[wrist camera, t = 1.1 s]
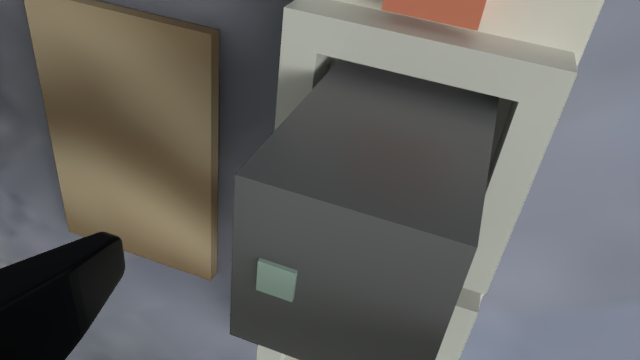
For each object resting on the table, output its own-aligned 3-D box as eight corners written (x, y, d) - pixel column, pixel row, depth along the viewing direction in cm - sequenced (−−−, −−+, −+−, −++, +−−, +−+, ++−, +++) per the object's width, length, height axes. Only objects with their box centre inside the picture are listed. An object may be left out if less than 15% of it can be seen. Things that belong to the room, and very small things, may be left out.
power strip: (435, 386, 25) (419, 467, 22) (283, 332, 26) (249, 399, 23) (603, -44, 14) (623, -11, 11) (333, -92, 16) (282, -76, 13)
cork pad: (217, 272, 26) (210, 280, 25) (77, 224, 27) (68, 231, 27) (219, 29, 19) (211, 34, 19) (33, -15, 21) (21, -12, 20)
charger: (457, 217, 17) (418, 408, 11) (326, 179, 18) (228, 336, 12) (500, 90, 14) (477, 251, 9) (345, 53, 15) (232, 177, 10)
